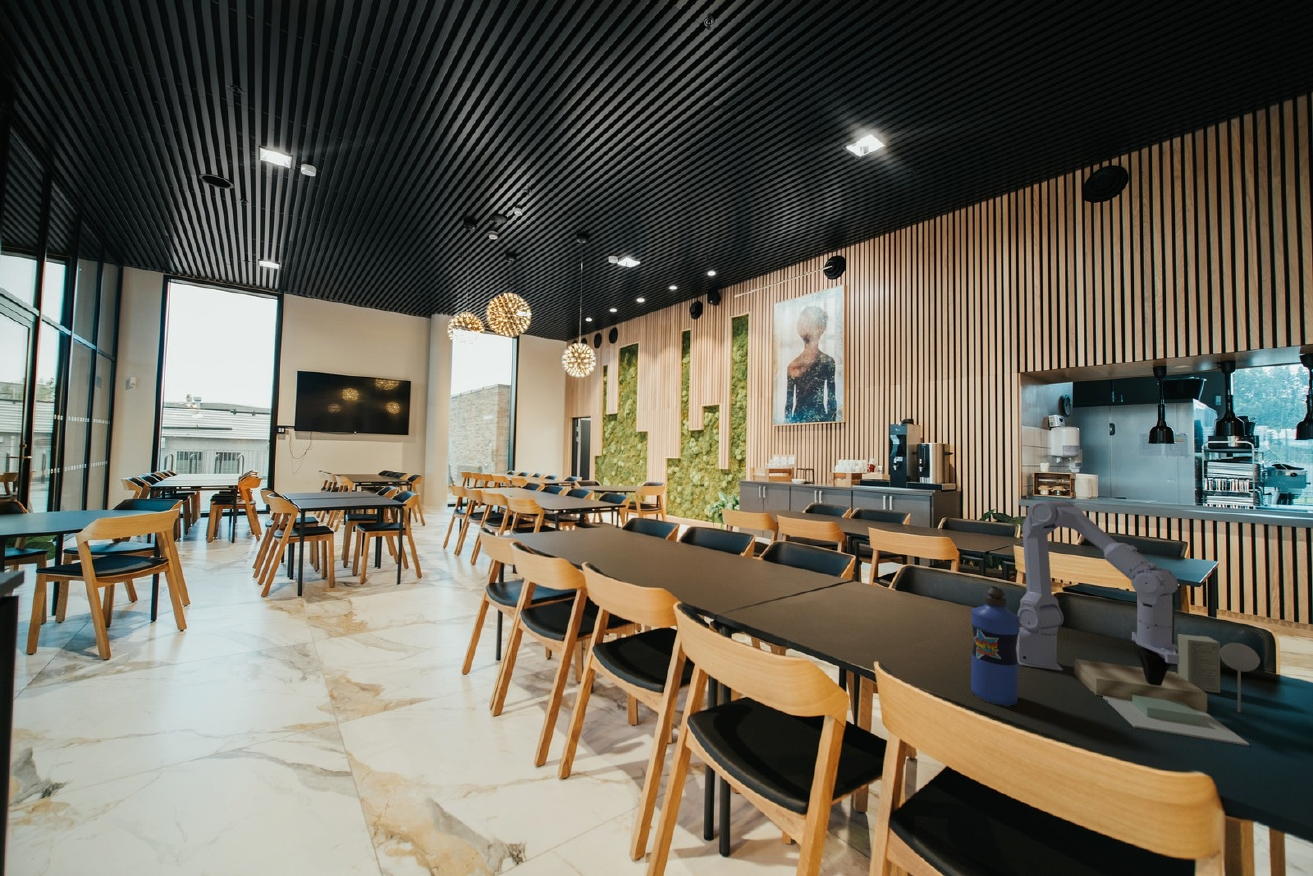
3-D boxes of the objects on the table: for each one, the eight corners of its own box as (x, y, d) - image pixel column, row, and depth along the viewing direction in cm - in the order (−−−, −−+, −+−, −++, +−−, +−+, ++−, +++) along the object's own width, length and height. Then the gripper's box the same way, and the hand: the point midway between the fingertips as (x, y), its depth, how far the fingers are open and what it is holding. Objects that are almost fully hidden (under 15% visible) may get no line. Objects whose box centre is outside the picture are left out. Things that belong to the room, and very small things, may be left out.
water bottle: (1003, 710, 114) (1005, 595, 114) (961, 691, 122) (963, 584, 123) (1027, 701, 118) (1028, 590, 119) (985, 684, 127) (986, 580, 127)
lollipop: (1210, 705, 119) (1211, 638, 119) (1234, 704, 119) (1234, 638, 119) (1243, 719, 112) (1244, 649, 113) (1268, 718, 113) (1268, 649, 113)
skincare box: (1208, 686, 129) (1209, 636, 129) (1221, 694, 124) (1221, 642, 125) (1176, 682, 131) (1176, 633, 131) (1187, 689, 126) (1187, 639, 127)
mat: (1134, 727, 108) (1134, 725, 108) (1102, 697, 121) (1102, 695, 121) (1249, 746, 102) (1249, 744, 102) (1202, 712, 115) (1202, 710, 115)
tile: (1132, 695, 117) (1132, 704, 117) (1147, 707, 112) (1147, 716, 112) (1183, 702, 114) (1183, 711, 114) (1201, 715, 109) (1201, 725, 109)
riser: (1096, 695, 122) (1096, 678, 122) (1074, 674, 133) (1074, 659, 133) (1207, 712, 115) (1207, 693, 115) (1174, 688, 127) (1174, 672, 127)
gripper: (1198, 636, 109) (1197, 702, 109) (1158, 616, 123) (1157, 674, 123) (1155, 631, 112) (1154, 695, 112) (1121, 612, 125) (1120, 669, 125)
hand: (1153, 684), depth 117 cm, fingers closed
